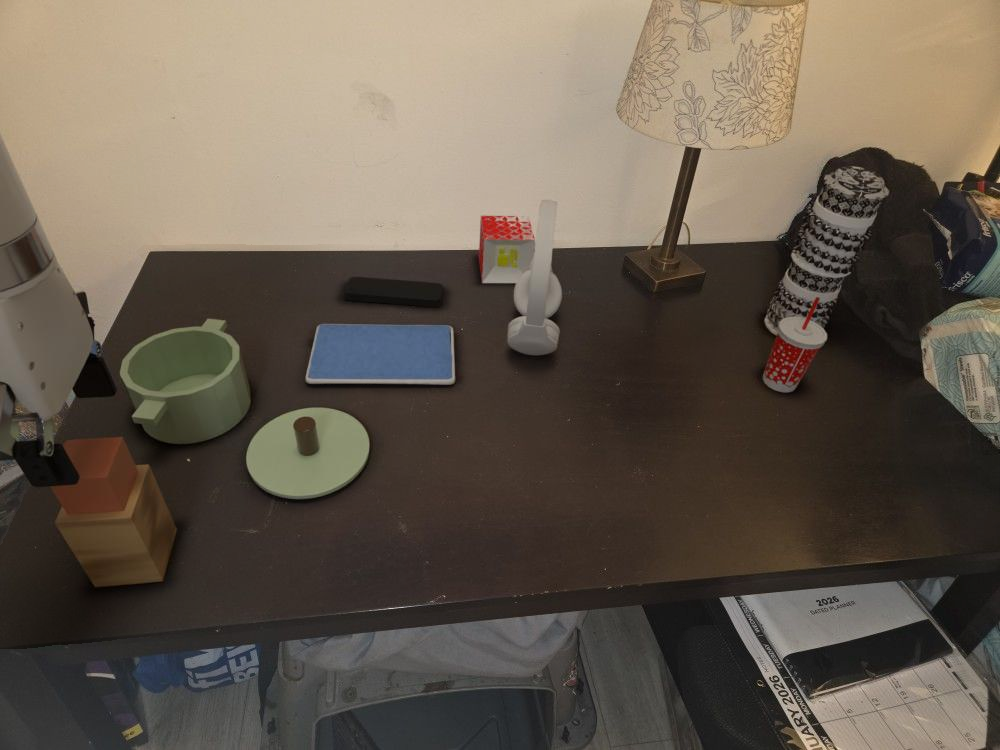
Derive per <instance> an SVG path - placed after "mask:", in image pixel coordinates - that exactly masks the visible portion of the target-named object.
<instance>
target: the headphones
mask: <svg viewBox="0 0 1000 750" xmlns="http://www.w3.org/2000/svg"><path fill="white" fill-rule="evenodd" d="M557 208H558V201H556V200H552V199H541V200H540V203H539V210H538V212H539V213H538V218H537V219H538V221H537V226H536V235H535V248H534V255H533V259H532V261H531V263H530V265H529V267H528V269H527V271H526V272H524V273H523V274H522V276H521V277H520V278H519V280H518V281H517V283H515V285H514V289H513V302H514V303H513V304H514V306H515V307H516V310H517V311H518V312H519V314H520V315H522V316H518V317H516V318H514V319H512V320H511V321H509V323H508V325H507V334H506V335H507V339H506V343H507V345H508V346H509V347H510V348H511V349H512V350H514V351H516V352H518V353H520V354H522V355H527V356H545V355H548V354H551V353H553V352H555V351H556V350H557V348H558V344H559V337H560V334H561V330H560V328H559V325H557V324H556V323H555V322H554V321H553V320H551V319H549V318H550V317H552V316H553V315H554V314H556V312H557V311H558V310H559V307H560V306H561V303H562V299H563V289H562V286H561V283H560V280H559V279H558V276H557V275H556V274H555V273H554V271H553V266H552V263H553V248H554V241H555V240H554V239H555V231H556V229H555V228H556V219H557V210H558V209H557Z"/></svg>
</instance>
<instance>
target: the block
mask: <svg viewBox="0 0 1000 750" xmlns="http://www.w3.org/2000/svg"><path fill="white" fill-rule="evenodd" d="M62 446H63V447H64V449H65V451H66V453H67V454H68V456H69V458H70V460H71V461H72V463H73V465H74V467H75V468H76V470H77V472H78V474H79V476H80V478H79V481H78V483H77V484H75V485H64V486H51V487H50V489H51V490H52V492H53V494H54V495H55V497H56V499H57V500H58V502H59V504H60V505H61V508H62V507H63V508H64V510H65V512H66V513H67V515H70V514H84V513H98V512H112V511H124V509H125V506H126V503H127V501H128V498H129V495H130V492H131V489H132V486H133V484H134V481H135V478H136V475H137V472H138V470H137V468H136V466H135V465H136V463H135V461H134V458H133V457H132V455H131V453H130V449H129V448H128V446H127V444H126V441H125V439H124V437H123V436H116V437H115V436H114V437H99V438H98V437H96V438H95V437H94V438H79V439H67V440H65V442H64V444H63V445H62Z"/></svg>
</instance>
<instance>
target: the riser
mask: <svg viewBox="0 0 1000 750" xmlns="http://www.w3.org/2000/svg"><path fill="white" fill-rule="evenodd" d="M135 466H136V468H137V470H138V472H137V475H136V478H135V481H134V484H133V486H132V489H131V492H130V495H129V498H128V501H127V503H126V506H125V509H124V511H112V512H98V513H84V514H70V515H67V513H66V512H65V510H64V508H63V507H62V506H61V508H60V510H59V512H58V514H57V516H56V519H55V521H54V524H55V526H56V528H57V529H58V531H59V533H60V534H61V536H62V537H63V539H64V541H66V544H67V545H68V547H69V548H70V550H71V551H72V553H73V555H74V557H75V558H76V559H77V561H78V562H79V564H80V566H81V567H82V569H83V570H84V572H85V574H86V576H87V577H88V578H89V580H90V582H91V583H92V585H93V586H94V588H102V587H103V588H104V587H115V586H127V585H128V586H129V585H137V584H138V585H139V584H148V583H149V584H150V583H161V582H163V581H164V578H165V576H166V575H165V574H166V571H167V567H168V563H169V560H170V557H171V553H172V549H173V546H174V542H175V538H176V535H177V531H178V529H177V526H176V524H175V521H174V519H173V516H172V514H171V511H170V510H169V508H168V505H167V503H166V501H165V499H164V495H163V494H162V491H161V489H160V487H159V485H158V482H157V480H156V477H155V475H154V472H153V470H152V468H151V465H150V464H137V465H136V464H135Z"/></svg>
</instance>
